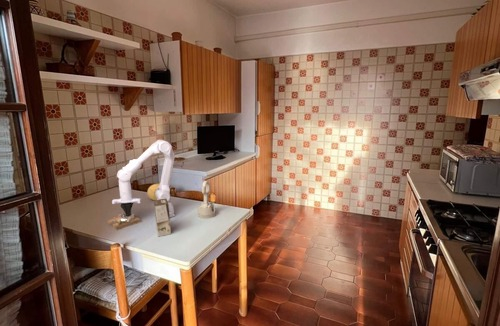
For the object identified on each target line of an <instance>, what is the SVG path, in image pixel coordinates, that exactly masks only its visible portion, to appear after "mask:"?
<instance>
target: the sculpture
mask: <svg viewBox="0 0 500 326" xmlns="http://www.w3.org/2000/svg"><path fill="white" fill-rule="evenodd" d="M159 185H160V183H155V184H151V185H150V186H149V187H148V188H147V193H146V194H147V197H148V199H150V200H152V201H154V200H157V199H158V198H157V197H156V195H155V192H156V190H157V189H158V186H159Z"/></svg>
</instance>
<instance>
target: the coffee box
mask: <svg viewBox="0 0 500 326" xmlns="http://www.w3.org/2000/svg"><path fill="white" fill-rule="evenodd" d="M153 203H154V217H155V226H156V233H157V237H163V236H168V235H171V233H172V230H171V220H170V218H171V217H170V216H169V204H168V201H167V199H159V200H153Z"/></svg>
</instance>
